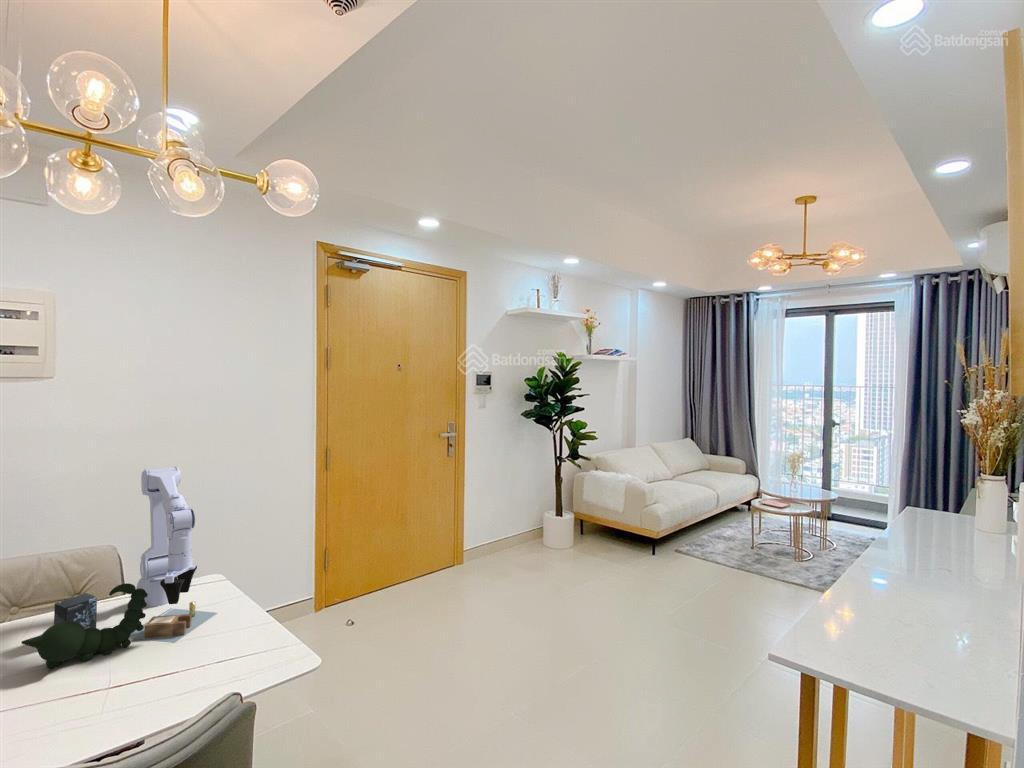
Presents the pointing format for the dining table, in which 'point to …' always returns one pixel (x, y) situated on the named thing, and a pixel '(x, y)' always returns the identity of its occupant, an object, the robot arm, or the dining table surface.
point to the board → (195, 622)
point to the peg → (192, 608)
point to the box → (77, 610)
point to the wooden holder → (167, 625)
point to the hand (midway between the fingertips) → (178, 597)
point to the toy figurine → (90, 633)
